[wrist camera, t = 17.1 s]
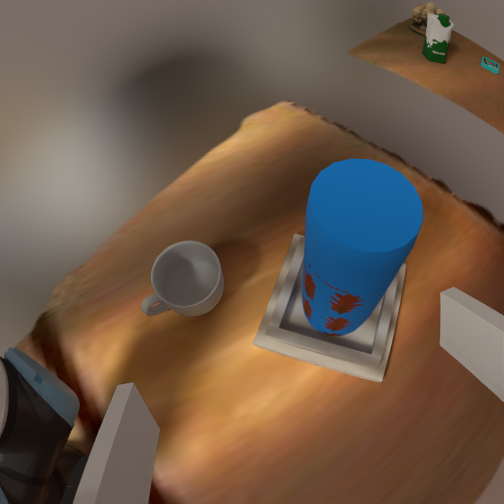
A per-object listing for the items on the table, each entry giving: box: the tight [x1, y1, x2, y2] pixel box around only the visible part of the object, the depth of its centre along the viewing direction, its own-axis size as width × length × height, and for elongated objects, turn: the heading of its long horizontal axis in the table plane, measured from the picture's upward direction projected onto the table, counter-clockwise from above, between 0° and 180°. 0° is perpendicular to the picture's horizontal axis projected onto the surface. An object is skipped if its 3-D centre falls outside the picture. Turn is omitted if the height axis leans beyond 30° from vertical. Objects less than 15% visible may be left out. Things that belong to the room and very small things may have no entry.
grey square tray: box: [253, 234, 406, 382], centre depth 48 cm, size 20×20×4 cm
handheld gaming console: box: [481, 56, 499, 74], centre depth 88 cm, size 8×1×15 cm
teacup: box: [141, 241, 224, 317], centre depth 50 cm, size 14×11×8 cm
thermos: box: [302, 159, 423, 336], centre depth 37 cm, size 11×11×25 cm
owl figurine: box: [409, 3, 444, 36], centre depth 95 cm, size 18×12×17 cm, turn 54°
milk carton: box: [422, 13, 454, 64], centre depth 80 cm, size 9×9×20 cm
